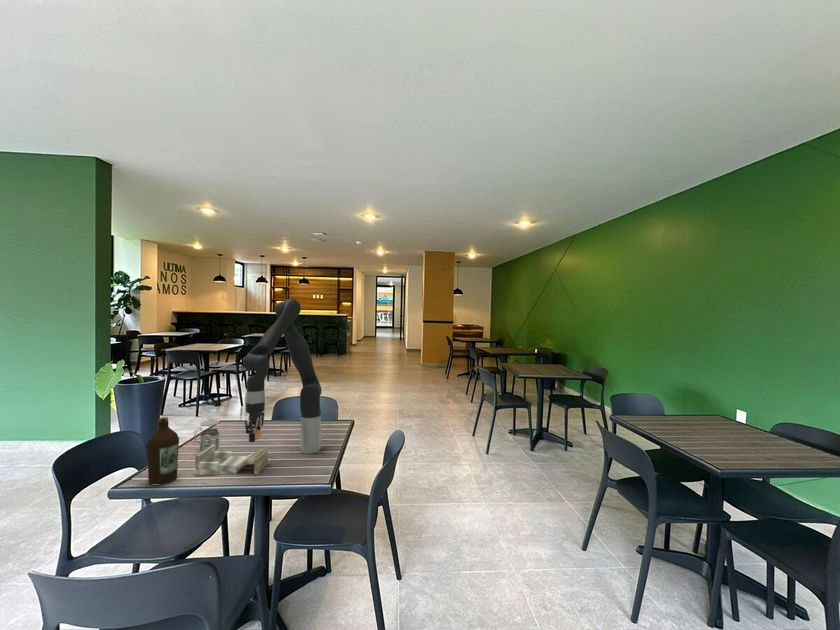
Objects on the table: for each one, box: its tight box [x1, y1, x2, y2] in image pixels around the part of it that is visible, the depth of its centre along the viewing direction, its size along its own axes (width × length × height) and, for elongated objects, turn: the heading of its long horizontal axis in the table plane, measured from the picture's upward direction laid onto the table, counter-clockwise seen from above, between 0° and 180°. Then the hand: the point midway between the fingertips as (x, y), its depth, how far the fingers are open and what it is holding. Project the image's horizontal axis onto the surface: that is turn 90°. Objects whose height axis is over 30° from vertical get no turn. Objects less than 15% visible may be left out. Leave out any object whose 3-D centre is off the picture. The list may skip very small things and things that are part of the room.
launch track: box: [194, 444, 269, 476], centre depth 158 cm, size 26×12×8 cm, turn 91°
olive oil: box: [146, 416, 180, 485], centre depth 146 cm, size 11×11×25 cm
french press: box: [193, 399, 222, 455], centre depth 176 cm, size 10×12×25 cm
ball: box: [254, 429, 262, 442], centre depth 158 cm, size 5×5×5 cm
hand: (254, 439), depth 158 cm, fingers closed on ball, 5 cm apart
